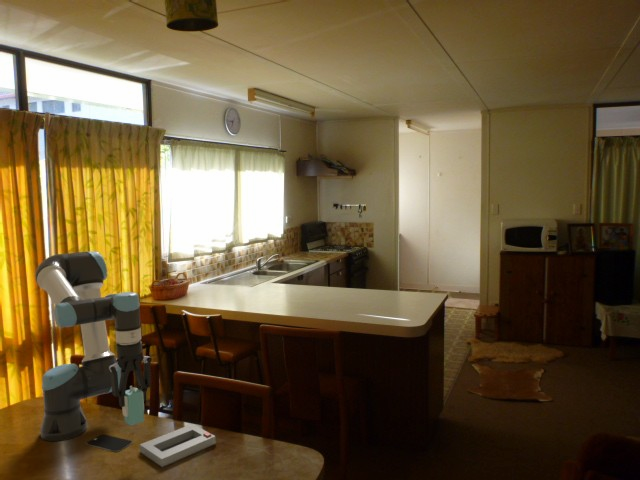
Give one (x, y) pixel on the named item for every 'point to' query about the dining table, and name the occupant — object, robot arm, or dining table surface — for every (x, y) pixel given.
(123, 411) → the robot arm
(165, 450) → the grey slotted tray
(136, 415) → the block
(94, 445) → the smartphone
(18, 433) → the dining table surface
